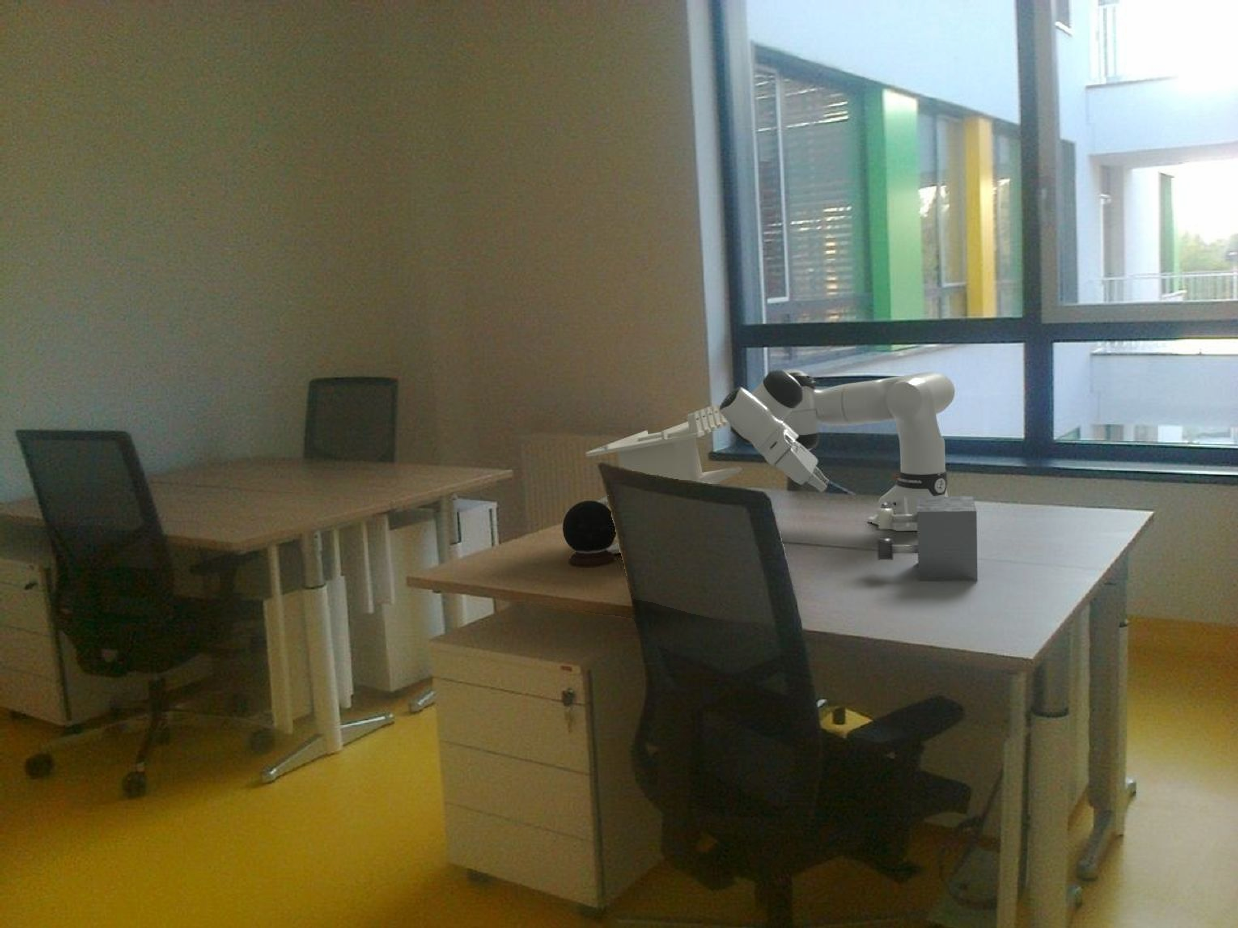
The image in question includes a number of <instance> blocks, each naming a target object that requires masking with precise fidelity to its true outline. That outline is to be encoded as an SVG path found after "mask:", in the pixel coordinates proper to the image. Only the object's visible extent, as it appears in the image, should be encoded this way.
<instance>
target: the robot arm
mask: <svg viewBox="0 0 1238 928" xmlns="http://www.w3.org/2000/svg"><path fill="white" fill-rule="evenodd" d="M819 384H820V382H819V381H815V378H814V377H813V376H812V375H810V374H809V373H807V372H806V371H802V370H799V369H788V370H787V369H786V370H782V369H780V370H772V371H769V372H768V373H767V374H766V376H764V379H763V380H762V381H761V382H760V383H759V385H757V386H756V388H755V389H754V390H753V391H752V392H750V391H749V390H747V389H745V388H744V387H742V386H738V387H735V389H733V390H732V391H730V393H728V395H727V396H726V397H725V398H724V399H723V401H722V402H721V403H720V404H721V405H720V409H719V411H720V413H721V414H722V415H723V417H724V418H725V419H726V420H727V421H728V423H729V425H730V431H731V433H732V434H734V435H735V436H736V437H737V438H738V439H739V440H740V441H741V442H742V443H743V444H744V445H753V447H754V449H755V450H756V451H757V452H758V453H759V454H760V455H761V456H763V458H764V459H765V460H766V462H767V463H768V464H769V465H770V466H774V465H775V466H776V468H777V469H779V471H781V472H782V473H783V474H784V475H786V476H787V477H788V478H789V479H791V480H792V481H793V482H795V483H796V484H798V485H801V486H802V485H804V484H805V483H806V482H807V483H808V484H809V485H810V486H812V487H814V488H815V489H816V490H817V491H819V492H820V493H823V492H825V491H826V489H827V487H828V484H829V482H830V481H829V478H827V477H826V476H825V475H824V473H823V472H822V471H821V470H820V469H819V468H818V467H817V465H818V463H819V459H818V458H817V457H816V455H814V454H813V453H812V452H811V450H812V449H815V448H816V447H817V446H818V444H819V440H820V439H819V438H820V437H819V436H820V432H818V430H819V427H818V425H819V424H821V425H824V426H834V427H835V426H836V427H837V426H838V427H842V426H843V427H845V426H846V427H848V426H859V425H867V424H876V423H877V424H878V423H884V422H891V421H894V422H895V426H896V430H897V434H898V441H899V453H900V454H899V457H900V460H899V461H900V471H899V472H896V473H892V474H893V476H892V478H893V479H896V482H895V485H894V486H893V487H892V488H890V489H889V490H888V491H887V492H886V493H884V494H883V495H882V496H881V497H879V500H878V502H877V507H876V509H877V510H876V511H877V512H876V514H874V515H872V516H869V517H868V518H867V519H868V520H867V522H868V523H871V522H872V524H874V525H876V526H878V508H892V514H893V515H904V514H917V497H949V496H948V491H947V486H948V478H949V477H948V471H947V470H946V443H945V442H946V441H945V439H944V437H943V436H942V433H941V431H940V428H939V427H940V426H939V424H938V423H939V422H938V418H937V415H938V414H940V413H942V412H943V411H945V410H946V409H947V408H948V407H949V406H950V405H951V403H952V402H953V400H954V398H955V392H956V391H955V386H954V383H953V381H952V380H951V379H950V378H949V377H948V376H946V375H945V374H942V373H939V372H935V371H927V372H920V373H912V374H905V375H899V376H894V377H886V378H882V379H881V378H880V379H875V380H866V381H865V380H864V381H858V382H850V383H844V384H838V385H835V386H830V387H828V388H823V389H817V388H816V387H815V385H819ZM818 423H819V424H818ZM892 530H893V531H896V532H897V531H898V532H907V531H908V532H909V531H916V532H917V523H893V529H892Z"/></svg>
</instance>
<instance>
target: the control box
mask: <svg viewBox="0 0 1238 928" xmlns="http://www.w3.org/2000/svg"><path fill="white" fill-rule="evenodd" d="M977 511H978V510H977V507H976V504H975V500H974V496H971V495H970V496H966V495H965V496H948V497H917V531H916V534H917V535H916V536H917V545H918V553H917V567H918V568H917V573H918V575H917V576H918V577H917V579H918V581H919V582H978V529H977V527H978V524H977V523H978V519H977Z"/></svg>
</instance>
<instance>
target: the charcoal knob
mask: <svg viewBox="0 0 1238 928" xmlns="http://www.w3.org/2000/svg"><path fill="white" fill-rule="evenodd" d="M893 542H894V541H893V537H892V538H891V537H890V538H884V537H883V538H882V537H881V538H879V537H878V538H877V558H878V560H879V561H881V560H882V561H885V560H887V561H888V560H891V561H893V560H894V558H893V557H894V554H918V544H893Z"/></svg>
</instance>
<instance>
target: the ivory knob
mask: <svg viewBox="0 0 1238 928" xmlns="http://www.w3.org/2000/svg"><path fill="white" fill-rule="evenodd" d="M893 523H917V514H904V515H893V514H892V508H878V525H877V526H878V530H893Z"/></svg>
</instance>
